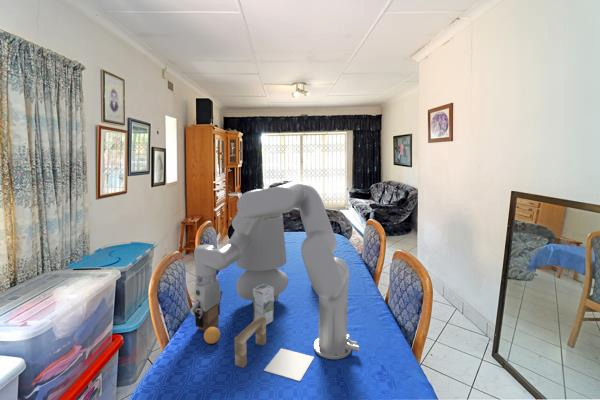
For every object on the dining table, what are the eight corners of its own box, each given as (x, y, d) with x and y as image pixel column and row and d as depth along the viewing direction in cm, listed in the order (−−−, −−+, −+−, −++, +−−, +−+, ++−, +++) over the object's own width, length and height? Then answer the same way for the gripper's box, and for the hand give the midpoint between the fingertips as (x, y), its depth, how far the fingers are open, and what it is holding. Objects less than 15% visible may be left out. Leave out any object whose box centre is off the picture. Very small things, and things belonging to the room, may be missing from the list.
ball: (223, 339, 115) (222, 325, 114) (213, 348, 110) (213, 333, 109) (211, 336, 117) (210, 322, 117) (200, 344, 112) (200, 330, 112)
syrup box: (263, 316, 131) (263, 282, 129) (274, 321, 128) (273, 286, 125) (253, 322, 127) (252, 287, 125) (263, 327, 123) (263, 291, 121)
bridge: (266, 342, 114) (265, 318, 112) (243, 367, 100) (242, 340, 99) (258, 340, 115) (258, 316, 113) (235, 365, 102) (234, 338, 100)
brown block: (218, 323, 126) (217, 304, 125) (208, 331, 120) (207, 311, 119) (208, 321, 128) (207, 302, 127) (198, 328, 122) (197, 309, 121)
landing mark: (314, 357, 105) (314, 356, 105) (299, 381, 94) (299, 380, 94) (281, 348, 110) (281, 348, 110) (263, 370, 99) (263, 370, 99)
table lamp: (282, 289, 157) (281, 208, 151) (295, 310, 137) (295, 217, 130) (234, 296, 150) (231, 211, 144) (240, 319, 129) (237, 221, 123)
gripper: (198, 288, 112) (200, 334, 115) (228, 271, 128) (229, 311, 130) (181, 285, 115) (184, 329, 117) (212, 268, 131) (214, 308, 133)
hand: (208, 320), depth 124 cm, fingers open, 9 cm apart
